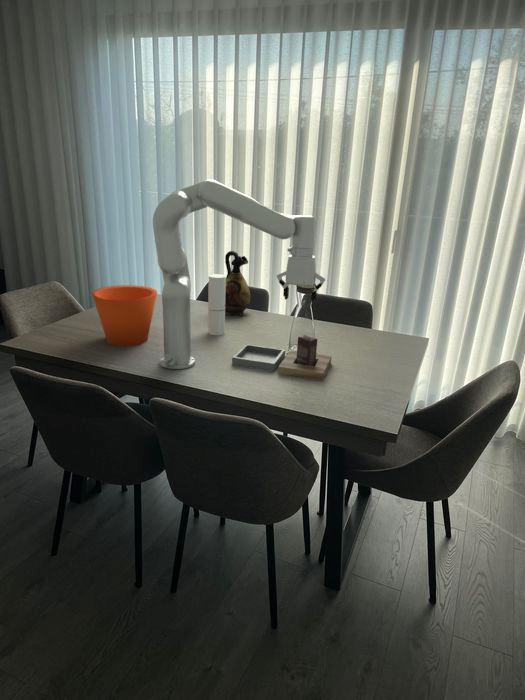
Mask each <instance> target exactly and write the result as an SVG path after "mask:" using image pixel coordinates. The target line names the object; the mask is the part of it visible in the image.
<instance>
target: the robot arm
mask: <svg viewBox="0 0 525 700" xmlns="http://www.w3.org/2000/svg"><path fill="white" fill-rule="evenodd" d="M205 208H209V209H212V210H215V211H217V212H218V213H219V212H220V213H222V214H223V215H226V216H228V217H230V218H233V219H234V220H237V221H239V222H241V223H243V224H246V225H248V226H251V227H253V228H255V229H257V230H259V231H262V232H264V233H266V234H267V235H271V236H272V237H275V238H276V239H279V240H288V239H290V238H292V239H291V247H287V252H289V253H290V254H289V256H288V257H287V264H286V270H285V271H283V272H281V273H279V274H276V277H277V280H278V282H279V284H280V286H281V287H282V288H283V297H284V300H288V299H289V295H290V294H289V293H290V288H289V285H292V286H304V287H305V286H306V287H311V285H313V284H314V285H315V286H314V288H315V291H314V292H313V293H312V292H311V299H310V300H311V303H314V301H315V300H317V293H318V292H317V291H318V290H319V289H320V288H322V287H323V285H324V283H325V281H326V278H325V277H323V276H322V275H320V274H318V273H317V272H316V270H317V269H316V268H317V267H316V256H315V255H314V246H315V244H314V243H315V229H316V218H315V217H314V216H312V215H307V214H306V215H305V214H302V215H301V214H299V215H294V214H292V215H291V214H287V213H286V214H285V213H280V212H278V211H275V210H274V209H271V208H270V207H267V206H266V205H264V204H262V203H260V202H259V201H257V200H256V199H254V198H253V197H251V196H248V194H244V193H243V192H240V191H238V190H237V189H234V188H232V187H229V186H227V185H225V184H222V183H221V182H219V181H217V180H215V179H212V178H211V179H205V180H202V181H200V182H198V183H195V184H192V185H190V186H187V187H184V188H181V189H178V190H176V191H175V190H174V191H173V192H172V193H170V194H168V196H166V197H165V198H163V199H162V200H161V201H160V202H159V204H158V205H157V206H156V208H155V210H154V213H153V215H152V228H153V236H154V243H155V248H156V255H157V264H158V266H159V268H160V270H161V271H162V272H161V273H162V278H163V287H162V291H161V300H162V301H161V302H162V304H161V305H162V316H163V317H162V319H163V320H162V322H163V357H161V358H160V359H159V365H160V366H161V367H163V368H166V369H171V370H183V369H184V370H185V369H189V368H192V367H193V366H194V365H195V364H196V359H195V358H194V357H193V356H191V352H192V350H191V349H192V348H191V347H192V346H191V345H192V344H191V339H192V338H191V335H192V334H191V331H192V330H191V329H192V328H191V324H192V323H191V291H192V289H191V288H192V282H191V278H190V269H189V264H188V258H187V254H186V251H185V249H184V247H182V240H181V233H180V227H179V226H180V222H181V220H182V219H184V218H186V217H187V216H188V215H189V214H191V213H194V212H197V211H199V210H202V209H205ZM283 277H285V280H284V279H283ZM316 279H317V280H319V283H318V284H316ZM303 282H305V283H303Z"/></svg>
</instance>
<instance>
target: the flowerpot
mask: <svg viewBox="0 0 525 700" xmlns="http://www.w3.org/2000/svg"><path fill="white" fill-rule="evenodd" d="M91 294H92V298H93V302H94V304H95V308H96V310H97V315H98V318H99V320H100V324H101V326H102V329H103V332H104V335H105V336H104V337H105V340H106V342H107V343H108V344H110V345H113V346H116V347H131V346H133V347H134V346H138V345H142V344H145V343H146V342H147V341H148V338H149V334H150V329H151V323H152V319H153V315H154V310H155V304H156V299H157V296H158V295H157V294H158V290H156V289H155V288H152V287H148V286H145V285H144V286H143V285H136V284H121V285H120V284H119V285H109V286H104V287H99V288H96V289H94V290H93V291H92V292H91Z"/></svg>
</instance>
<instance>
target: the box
mask: <svg viewBox="0 0 525 700" xmlns="http://www.w3.org/2000/svg"><path fill="white" fill-rule="evenodd" d="M317 347H318V338H316V337H314V336H310V335H305V334H304V335H300V336H298V337H297V348H296V351H297V359H296V364H301V365H308V366H314V367H315V361H316V354H317Z"/></svg>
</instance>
